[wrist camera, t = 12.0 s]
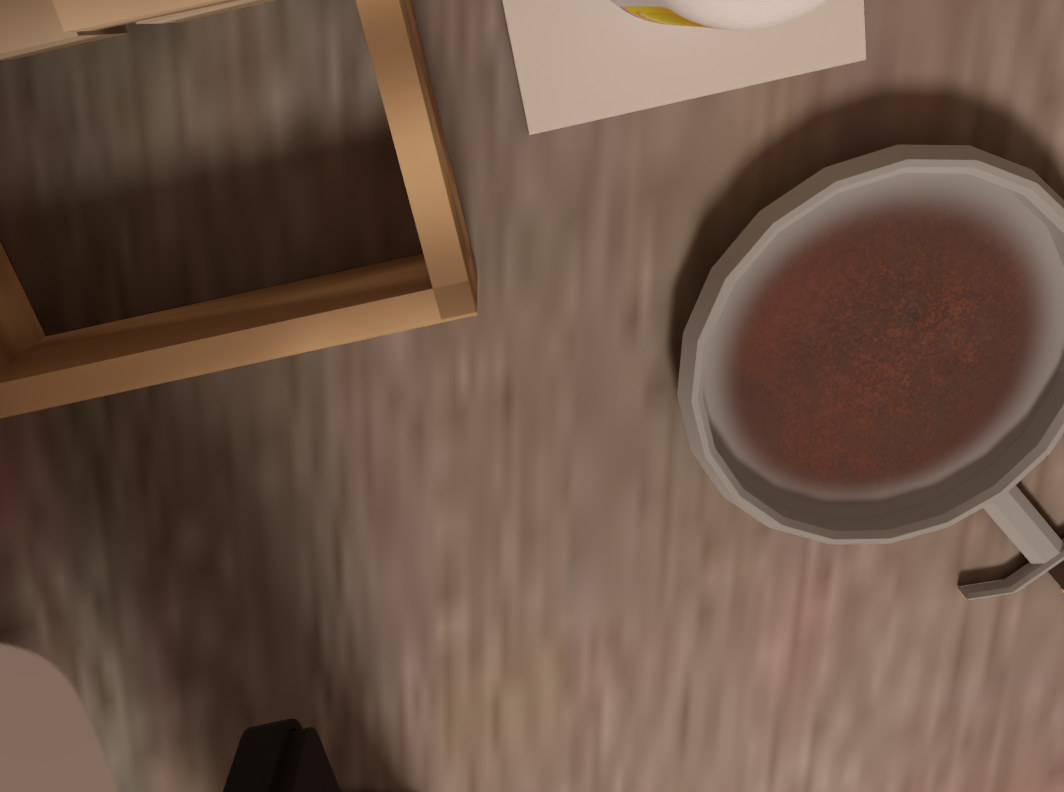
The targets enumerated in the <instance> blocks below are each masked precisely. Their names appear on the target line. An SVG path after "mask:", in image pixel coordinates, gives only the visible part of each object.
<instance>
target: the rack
mask: <svg viewBox="0 0 1064 792" xmlns="http://www.w3.org/2000/svg"><path fill="white" fill-rule="evenodd" d="M356 4H357V7H358V11H359V15H360V19H361V22H362V26H363V30H364V33H365V37H366V41H367V45H368V48H369V52H370V56H371V60H372V63H373V67H374V71H375V75H376V78H377V82H378V86H379V89H380V93H381V97H382V101H383V104H384V108H385V112H386V116H387V119H388V123H389V127H390V131H391V134H392V138H393V142H394V146H395V149H396V153H397V157H398V160H399V164H400V168H401V172H402V175H403V179H404V183H405V187H406V190H407V194H408V198H409V202H410V205H411V209H412V213H413V216H414V220H415V224H416V228H417V231H418V235H419V239H420V243H421V246H422V250H423V254H418V255H413V256H409V257H404V258H400V259H395V260H391V261H386V262H382V263H377V264H373V265H368V266H364V267H359V268H354V269H350V270H345V271H341V272H336V273H332V274H327V275H323V276H318V277H314V278H309V279H305V280H300V281H295V282H291V283H286V284H282V285H277V286H273V287H268V288H264V289H259V290H255V291H250V292H246V293H241V294H236V295H232V296H227V297H223V298H218V299H214V300H209V301H205V302H200V303H196V304H191V305H187V306H182V307H177V308H173V309H168V310H164V311H159V312H155V313H150V314H146V315H141V316H137V317H132V318H128V319H123V320H118V321H114V322H109V323H105V324H100V325H96V326H91V327H87V328H82V329H78V330H73V331H69V332H64V333H59V334H55V335H50V336H45V334H44V332H43V330H42V328H41V325H40V323H39V321H38V319H37V317H36V315H35V313H34V311H33V309H32V307H31V305H30V302H29V300H28V298H27V296H26V294H25V292H24V290H23V288H22V286H21V284H20V282H19V279H18V277H17V275H16V273H15V271H14V269H13V267H12V265H11V263H10V261H9V259H8V256H7V254H6V252H5V250H4V248H3V246H2V244H1V242H0V419H1V418H5V417H10V416H14V415H19V414H24V413H28V412H33V411H37V410H42V409H47V408H51V407H56V406H60V405H65V404H70V403H74V402H79V401H83V400H88V399H93V398H97V397H102V396H106V395H111V394H116V393H120V392H125V391H129V390H134V389H139V388H143V387H148V386H152V385H157V384H161V383H166V382H171V381H175V380H180V379H184V378H189V377H194V376H198V375H203V374H207V373H212V372H217V371H221V370H226V369H230V368H235V367H240V366H244V365H249V364H253V363H258V362H263V361H267V360H272V359H276V358H281V357H286V356H290V355H295V354H299V353H304V352H309V351H313V350H318V349H322V348H327V347H332V346H336V345H341V344H345V343H350V342H355V341H359V340H364V339H368V338H373V337H378V336H382V335H387V334H391V333H396V332H401V331H405V330H410V329H414V328H419V327H424V326H428V325H433V324H437V323H442V322H447V321H451V320H456V319H460V318H465V317H470V316H474V315H477V270H476V266H475V262H474V257H473V253H472V249H471V245H470V241H469V237H468V233H467V229H466V225H465V220H464V216H463V212H462V208H461V204H460V200H459V196H458V192H457V187H456V183H455V179H454V175H453V171H452V167H451V163H450V159H449V154H448V150H447V146H446V142H445V138H444V134H443V130H442V126H441V122H440V117H439V113H438V109H437V105H436V101H435V97H434V93H433V89H432V84H431V80H430V76H429V72H428V68H427V64H426V60H425V56H424V52H423V47H422V43H421V39H420V35H419V31H418V27H417V23H416V19H415V14H414V10H413V6H412V2H411V0H356Z"/></svg>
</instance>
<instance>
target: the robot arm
mask: <svg viewBox="0 0 1064 792" xmlns="http://www.w3.org/2000/svg"><path fill="white" fill-rule="evenodd" d="M223 792H341V791H340V788H339V786H338V783H337V781H336V778H335V776H334V773H333V771H332V768H331V766H330V763H329V760H328V758H327V755H326V753H325V750H324V748H323V745H322V743H321V740H320V738H319V735H318V733H317V731H316V730H315V729H314V728H313V727H310V728H305V729H302V727H301V725H300V723H299V722H298V721H297V720H296V719H287V720H282V721H278V722H273V723H269V724H264V725H259V726H255V727H250V728H248V729H246V730H245V731H244V733H243V735H242V737H241V739H240V742H239V745H238V748H237V751H236V754H235V757H234V760H233V763H232V766H231V769H230V772H229V775H228V778H227V781H226V784H225V787H224V790H223Z"/></svg>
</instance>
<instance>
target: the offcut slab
mask: <svg viewBox="0 0 1064 792" xmlns="http://www.w3.org/2000/svg"><path fill="white" fill-rule="evenodd" d="M233 1H238V0H52V2H53V5H54V7H55V10H56V12H57V15H58V17H59V20H60V23H61V25H62V28H63V30H64V32H79V31H96V30H100V29H105V28H110V27H115V26H119V25H124V24H129V23H134V22H138V21H143V20H148V19H153V18H157V17H162V16H167V15H172V14H176V13H181V12H186V11H191V10H195V9H200V8H205V7H210V6H214V5H219V4H224V3H229V2H233Z"/></svg>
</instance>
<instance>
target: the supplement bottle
mask: <svg viewBox="0 0 1064 792" xmlns="http://www.w3.org/2000/svg"><path fill="white" fill-rule="evenodd" d="M610 1H611V2H612V3H613V4H615V5H616V6H617V7H619V8H620V9H622V10H623V11H625V12H627V13H629V14H630V15H632V16H635V17H637V18H640V19H643V20H646V21H649V22H654V23H658V24H665V25H677V26H691V27H706V28H715V29H723V30H756V29H763V28H768V27H772V26H776V25H780V24H783V23H786V22H789V21H791V20H794V19H796V18H798V17H800V16H802V15H804V14H806V13H808V12H810V11H812V10H814V9H816V8H817V7H819V6H820V5H821V4H823V3H824V2H826V1H827V0H610Z"/></svg>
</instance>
